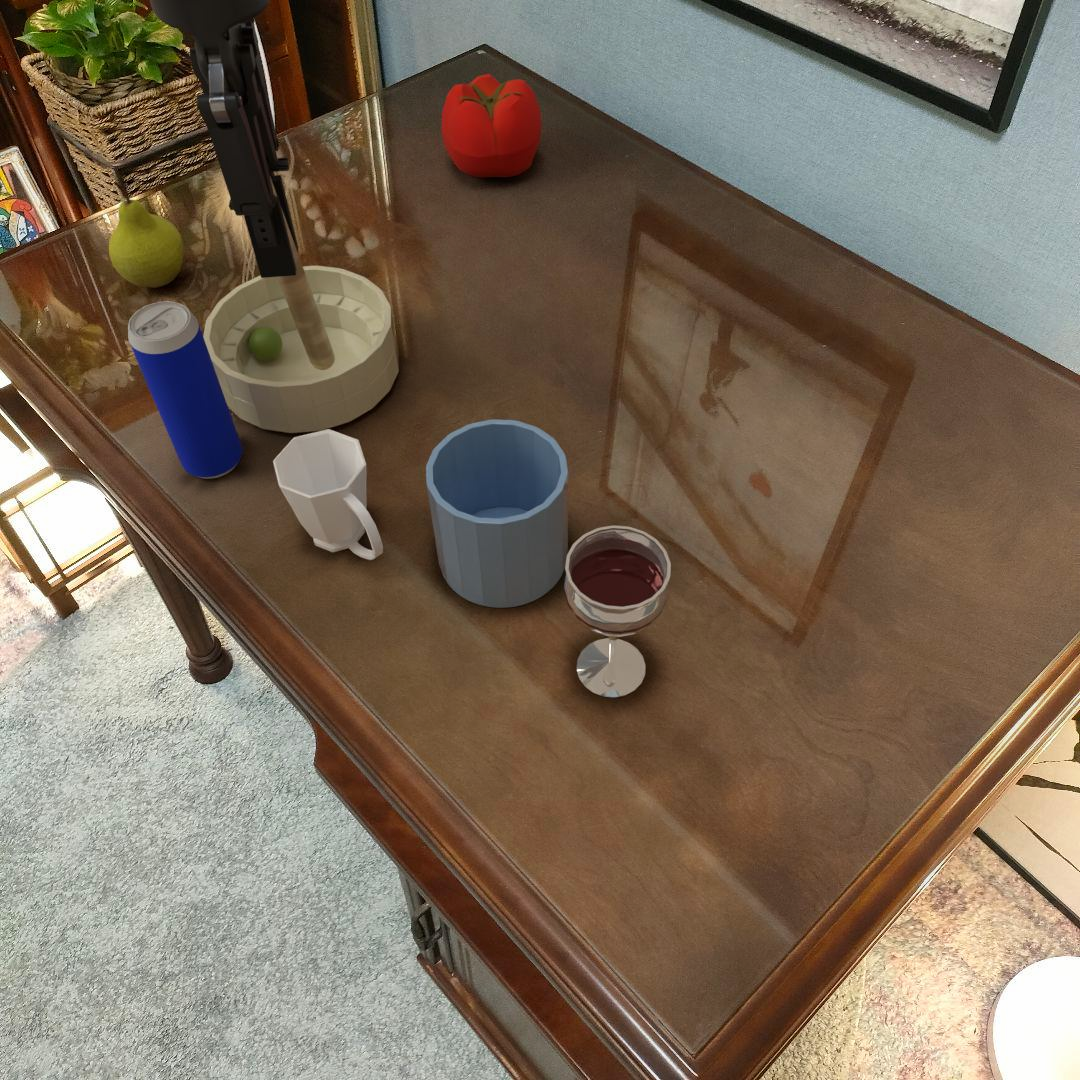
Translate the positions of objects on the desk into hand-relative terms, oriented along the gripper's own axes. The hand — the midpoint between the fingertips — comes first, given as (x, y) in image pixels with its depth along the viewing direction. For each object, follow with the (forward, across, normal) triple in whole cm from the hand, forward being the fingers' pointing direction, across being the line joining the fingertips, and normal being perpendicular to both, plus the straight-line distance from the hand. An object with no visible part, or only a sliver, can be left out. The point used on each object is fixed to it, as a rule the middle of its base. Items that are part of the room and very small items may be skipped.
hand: (279, 262), depth 81 cm
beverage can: (+14, -7, +8) cm, 18 cm away
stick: (+11, 0, -2) cm, 11 cm away
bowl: (+14, +3, 0) cm, 14 cm away
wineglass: (+14, -32, -23) cm, 41 cm away
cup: (+14, -18, -4) cm, 23 cm away
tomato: (+14, +36, -19) cm, 43 cm away
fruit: (+14, +19, +16) cm, 29 cm away
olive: (+12, +5, +4) cm, 14 cm away
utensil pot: (+14, -20, -16) cm, 29 cm away
